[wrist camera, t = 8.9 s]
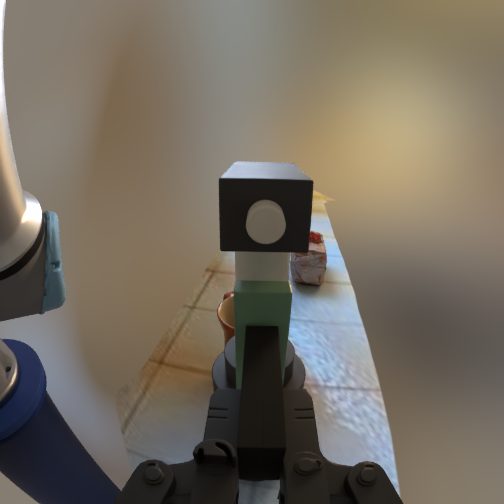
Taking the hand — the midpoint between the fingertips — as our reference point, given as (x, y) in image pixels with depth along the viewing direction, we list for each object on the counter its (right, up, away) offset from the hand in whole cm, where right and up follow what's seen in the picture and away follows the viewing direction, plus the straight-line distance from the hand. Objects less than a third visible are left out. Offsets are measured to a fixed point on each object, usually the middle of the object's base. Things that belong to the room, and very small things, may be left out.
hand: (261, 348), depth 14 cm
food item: (+12, -1, +54) cm, 55 cm away
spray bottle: (0, -18, +11) cm, 21 cm away
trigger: (0, -3, +2) cm, 4 cm away
